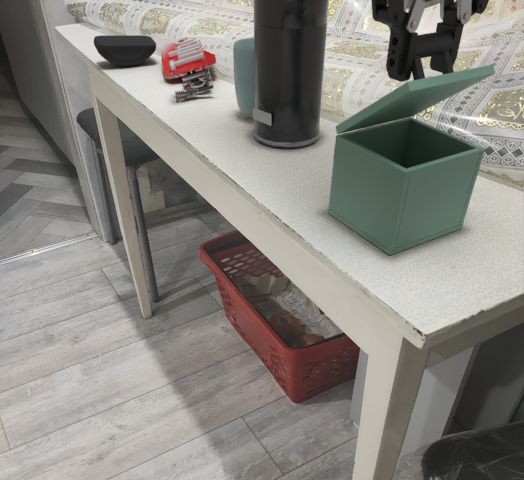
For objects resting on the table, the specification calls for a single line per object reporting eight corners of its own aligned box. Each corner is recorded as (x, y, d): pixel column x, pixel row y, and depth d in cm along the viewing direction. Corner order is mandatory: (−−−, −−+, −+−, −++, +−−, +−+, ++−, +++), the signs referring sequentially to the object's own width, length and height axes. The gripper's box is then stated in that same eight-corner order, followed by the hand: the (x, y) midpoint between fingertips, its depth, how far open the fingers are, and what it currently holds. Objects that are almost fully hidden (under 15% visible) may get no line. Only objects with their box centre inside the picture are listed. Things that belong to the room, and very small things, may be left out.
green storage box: (461, 228, 55) (485, 148, 49) (389, 255, 51) (406, 172, 46) (396, 191, 62) (410, 117, 56) (328, 213, 58) (335, 135, 52)
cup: (254, 105, 85) (253, 34, 78) (295, 113, 81) (297, 41, 75) (226, 118, 80) (222, 44, 73) (268, 127, 77) (268, 51, 70)
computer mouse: (97, 45, 96) (100, 69, 99) (157, 45, 99) (158, 68, 102) (91, 35, 100) (94, 58, 102) (149, 35, 103) (150, 57, 106)
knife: (184, 54, 100) (209, 51, 99) (186, 67, 101) (211, 63, 101) (178, 84, 88) (207, 80, 88) (181, 97, 89) (209, 94, 89)
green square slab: (495, 73, 46) (483, 16, 45) (410, 91, 42) (395, 29, 41) (412, 116, 56) (401, 70, 55) (337, 134, 52) (323, 85, 51)
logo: (222, 77, 84) (164, 95, 84) (225, 87, 85) (168, 106, 86) (206, 27, 100) (158, 43, 101) (209, 37, 102) (161, 53, 102)
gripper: (433, -213, 30) (388, 99, 42) (582, -200, 36) (506, 72, 47) (352, -199, 35) (331, 77, 46) (494, -189, 41) (445, 55, 52)
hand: (420, 73), depth 47 cm, fingers closed on green square slab, 4 cm apart
